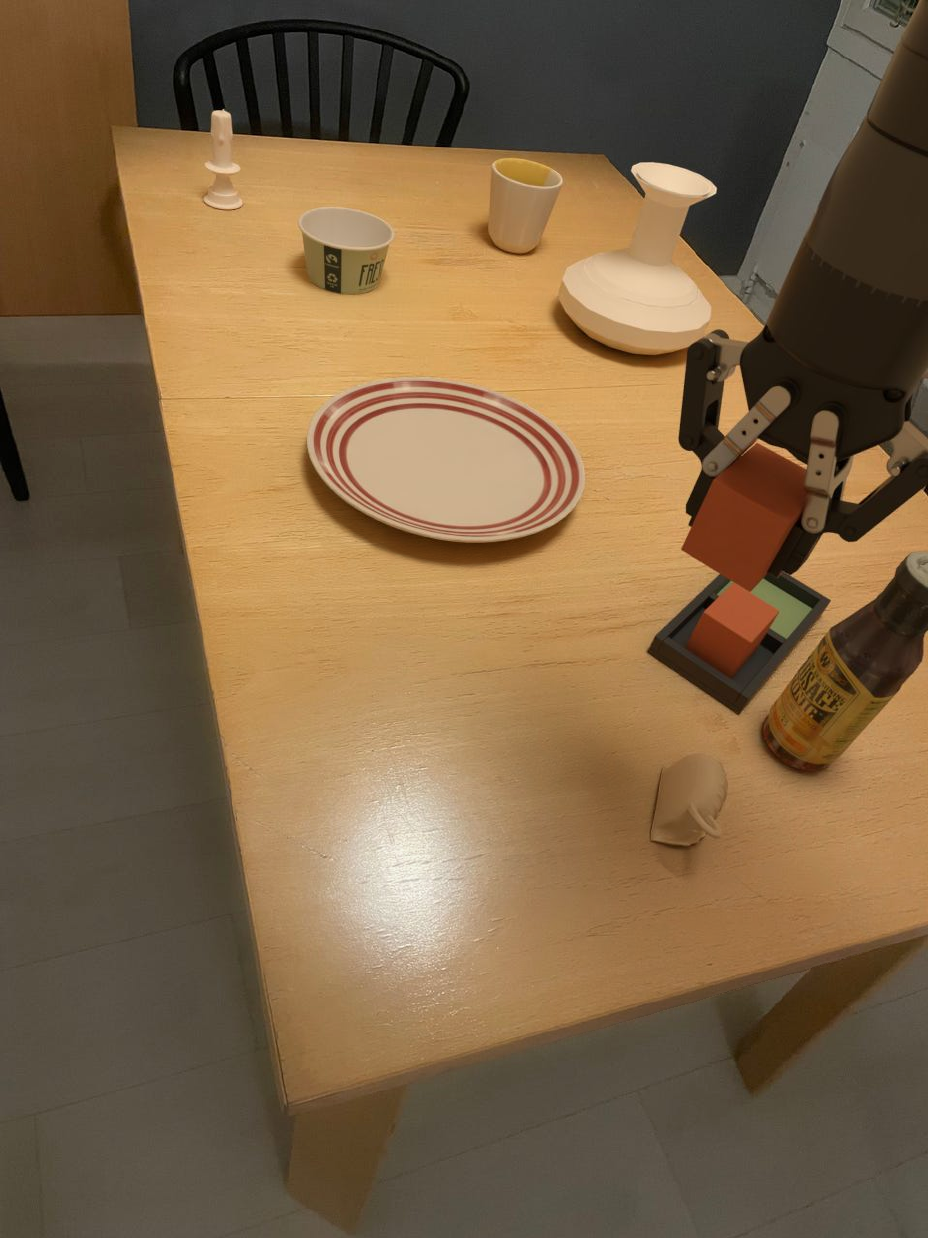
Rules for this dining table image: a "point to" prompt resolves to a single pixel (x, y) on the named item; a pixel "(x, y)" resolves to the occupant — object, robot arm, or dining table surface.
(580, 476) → the dinner plate
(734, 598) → the orange rectangular block
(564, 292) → the white vase
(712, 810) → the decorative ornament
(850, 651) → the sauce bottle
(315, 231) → the food container
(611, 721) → the dining table surface
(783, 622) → the pad holder
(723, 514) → the orange block
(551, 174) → the mug
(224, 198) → the candle
